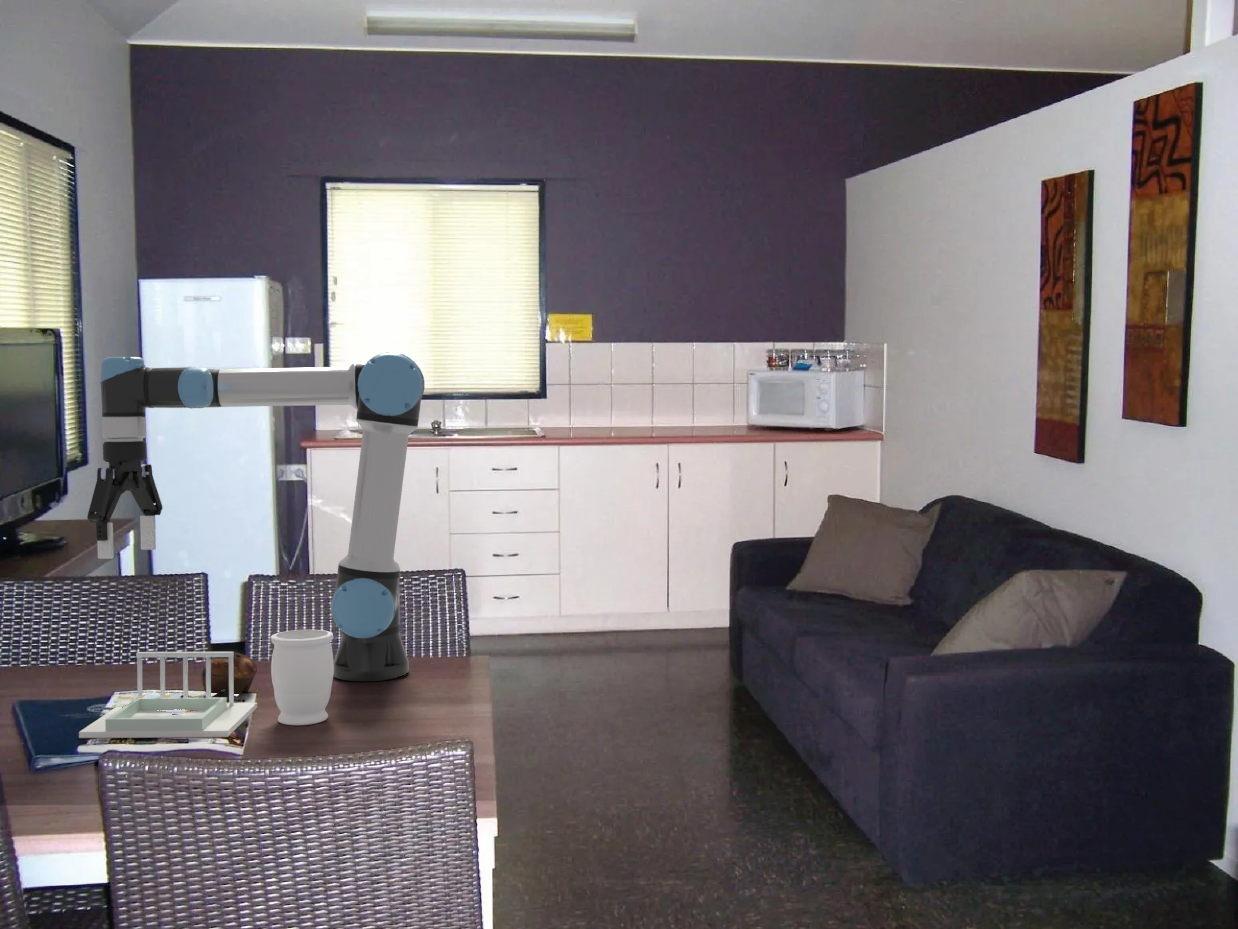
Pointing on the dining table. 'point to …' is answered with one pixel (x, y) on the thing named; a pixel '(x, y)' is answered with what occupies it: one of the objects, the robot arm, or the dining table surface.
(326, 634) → the jar
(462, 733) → the dining table surface
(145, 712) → the dish rack
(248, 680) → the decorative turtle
